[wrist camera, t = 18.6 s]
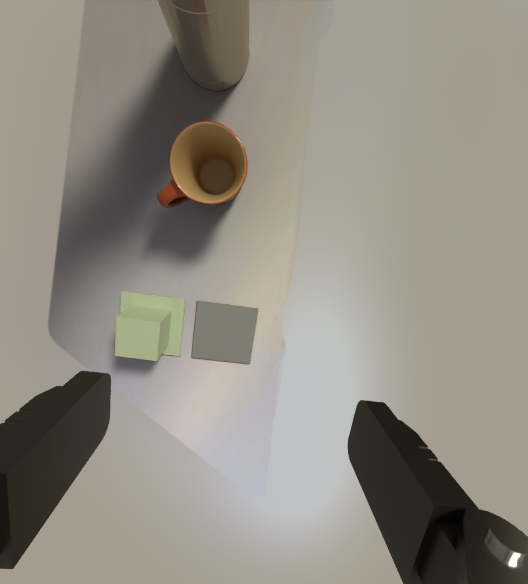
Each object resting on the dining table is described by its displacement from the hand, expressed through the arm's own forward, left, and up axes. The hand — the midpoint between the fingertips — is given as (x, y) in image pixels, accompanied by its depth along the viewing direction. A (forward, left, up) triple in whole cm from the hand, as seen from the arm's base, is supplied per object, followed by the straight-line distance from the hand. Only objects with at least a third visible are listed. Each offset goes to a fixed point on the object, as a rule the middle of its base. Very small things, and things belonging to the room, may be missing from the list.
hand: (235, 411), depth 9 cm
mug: (-11, -7, -36) cm, 39 cm away
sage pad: (+12, -14, -36) cm, 41 cm away
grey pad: (+12, -2, -36) cm, 38 cm away
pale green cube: (+12, -14, -36) cm, 40 cm away
